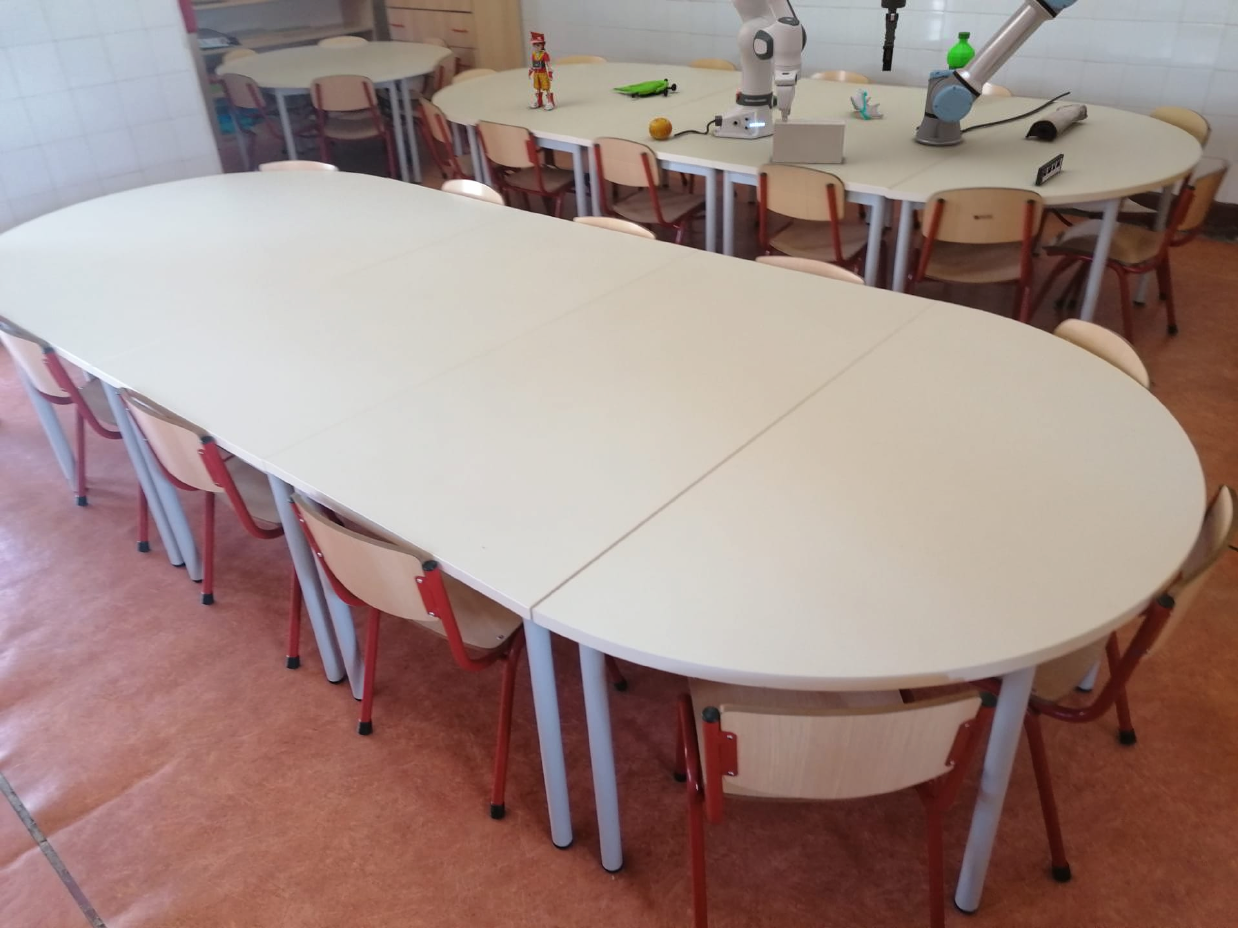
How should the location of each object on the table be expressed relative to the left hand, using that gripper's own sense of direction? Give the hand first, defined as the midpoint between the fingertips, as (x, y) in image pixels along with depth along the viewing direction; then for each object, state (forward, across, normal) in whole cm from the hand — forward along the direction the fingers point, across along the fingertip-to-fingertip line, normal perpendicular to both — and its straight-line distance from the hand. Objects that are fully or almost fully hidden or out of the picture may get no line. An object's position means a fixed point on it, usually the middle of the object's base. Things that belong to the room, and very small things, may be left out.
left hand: (786, 118), depth 296 cm
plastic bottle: (+15, -82, +58) cm, 101 cm away
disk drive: (+13, -73, -17) cm, 76 cm away
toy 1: (+10, -68, -110) cm, 129 cm away
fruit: (+12, -24, -48) cm, 55 cm away
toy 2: (+11, -96, -73) cm, 122 cm away
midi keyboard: (+16, +13, +81) cm, 84 cm away
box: (+14, 0, +7) cm, 16 cm away
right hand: (-13, -12, +31) cm, 35 cm away
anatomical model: (+14, -61, +24) cm, 67 cm away
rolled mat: (+16, -42, +90) cm, 101 cm away
